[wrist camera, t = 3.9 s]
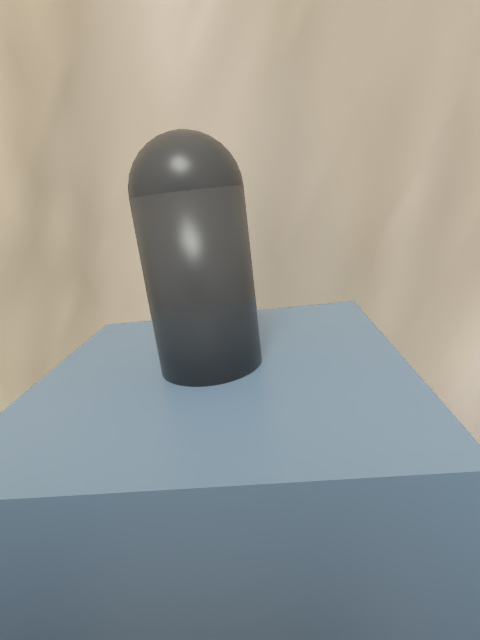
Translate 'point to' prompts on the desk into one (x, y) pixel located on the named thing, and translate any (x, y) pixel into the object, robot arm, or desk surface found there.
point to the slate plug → (232, 456)
